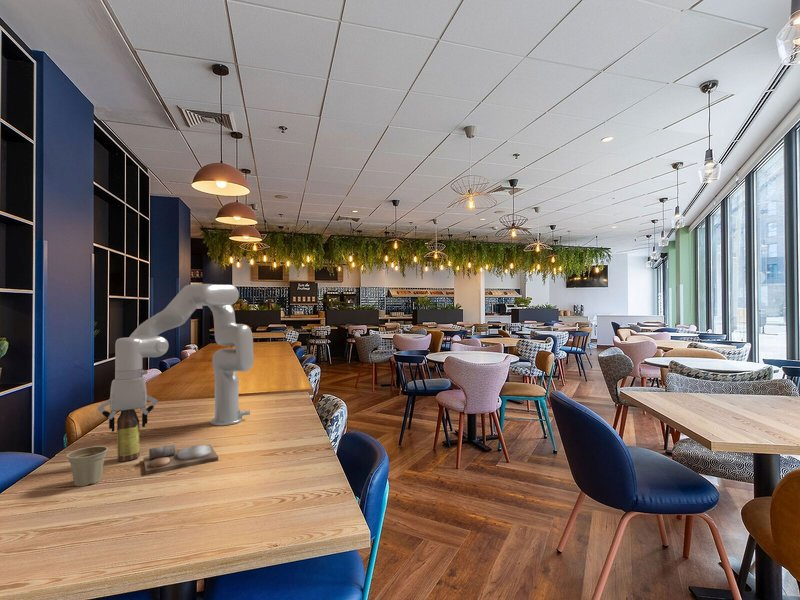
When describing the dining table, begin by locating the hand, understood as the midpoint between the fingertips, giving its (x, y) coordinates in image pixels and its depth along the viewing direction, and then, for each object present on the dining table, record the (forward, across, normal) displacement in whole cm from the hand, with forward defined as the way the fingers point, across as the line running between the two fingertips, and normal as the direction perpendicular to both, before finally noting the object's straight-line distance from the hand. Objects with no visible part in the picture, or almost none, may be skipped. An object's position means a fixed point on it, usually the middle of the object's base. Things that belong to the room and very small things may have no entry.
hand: (128, 428), depth 135 cm
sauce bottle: (+10, 0, 0) cm, 10 cm away
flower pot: (+10, +10, +15) cm, 21 cm away
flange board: (+10, -14, +12) cm, 21 cm away
